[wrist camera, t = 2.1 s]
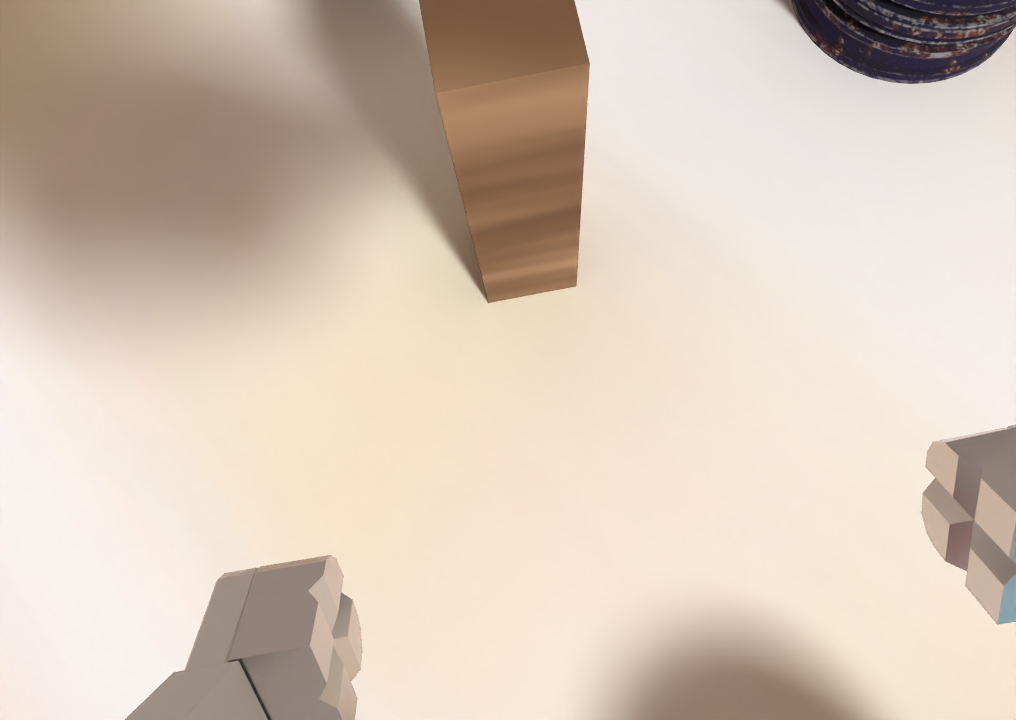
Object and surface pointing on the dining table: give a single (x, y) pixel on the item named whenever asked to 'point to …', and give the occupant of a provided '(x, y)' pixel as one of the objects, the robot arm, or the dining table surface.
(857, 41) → the rusty blue barrel
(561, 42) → the rail
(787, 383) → the dining table surface
